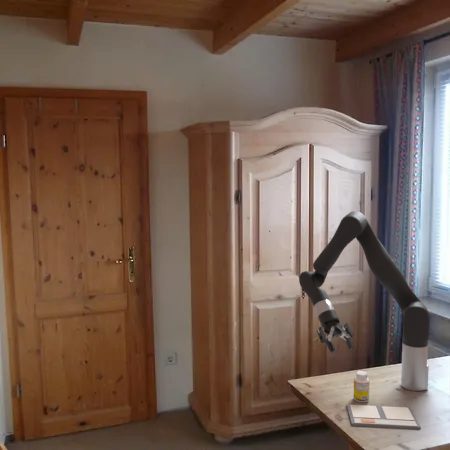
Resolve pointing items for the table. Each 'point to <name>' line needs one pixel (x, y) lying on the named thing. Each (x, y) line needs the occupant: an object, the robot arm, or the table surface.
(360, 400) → the supplement bottle
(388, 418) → the board
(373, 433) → the table surface
